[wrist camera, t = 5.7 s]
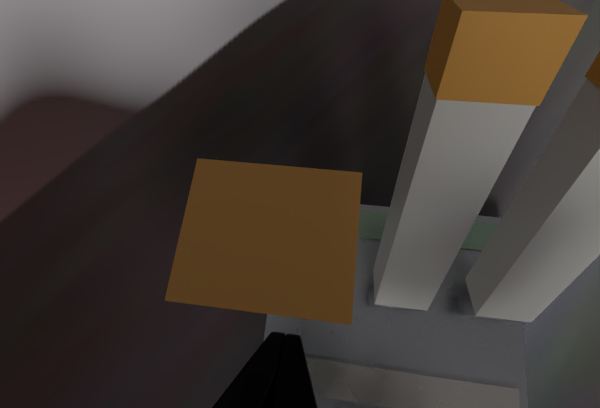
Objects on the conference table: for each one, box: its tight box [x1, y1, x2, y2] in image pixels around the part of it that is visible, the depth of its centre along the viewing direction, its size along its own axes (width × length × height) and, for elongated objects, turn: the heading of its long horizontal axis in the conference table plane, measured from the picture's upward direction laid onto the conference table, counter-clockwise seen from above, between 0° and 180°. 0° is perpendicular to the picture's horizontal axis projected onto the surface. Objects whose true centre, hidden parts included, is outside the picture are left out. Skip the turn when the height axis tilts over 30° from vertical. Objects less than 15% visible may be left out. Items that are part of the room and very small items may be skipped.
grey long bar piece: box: [368, 0, 588, 311], centre depth 12 cm, size 2×3×13 cm
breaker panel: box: [263, 204, 529, 408], centre depth 17 cm, size 14×13×2 cm
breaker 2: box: [458, 52, 600, 323], centre depth 12 cm, size 2×3×13 cm
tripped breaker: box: [165, 158, 362, 325], centre depth 11 cm, size 2×3×13 cm
